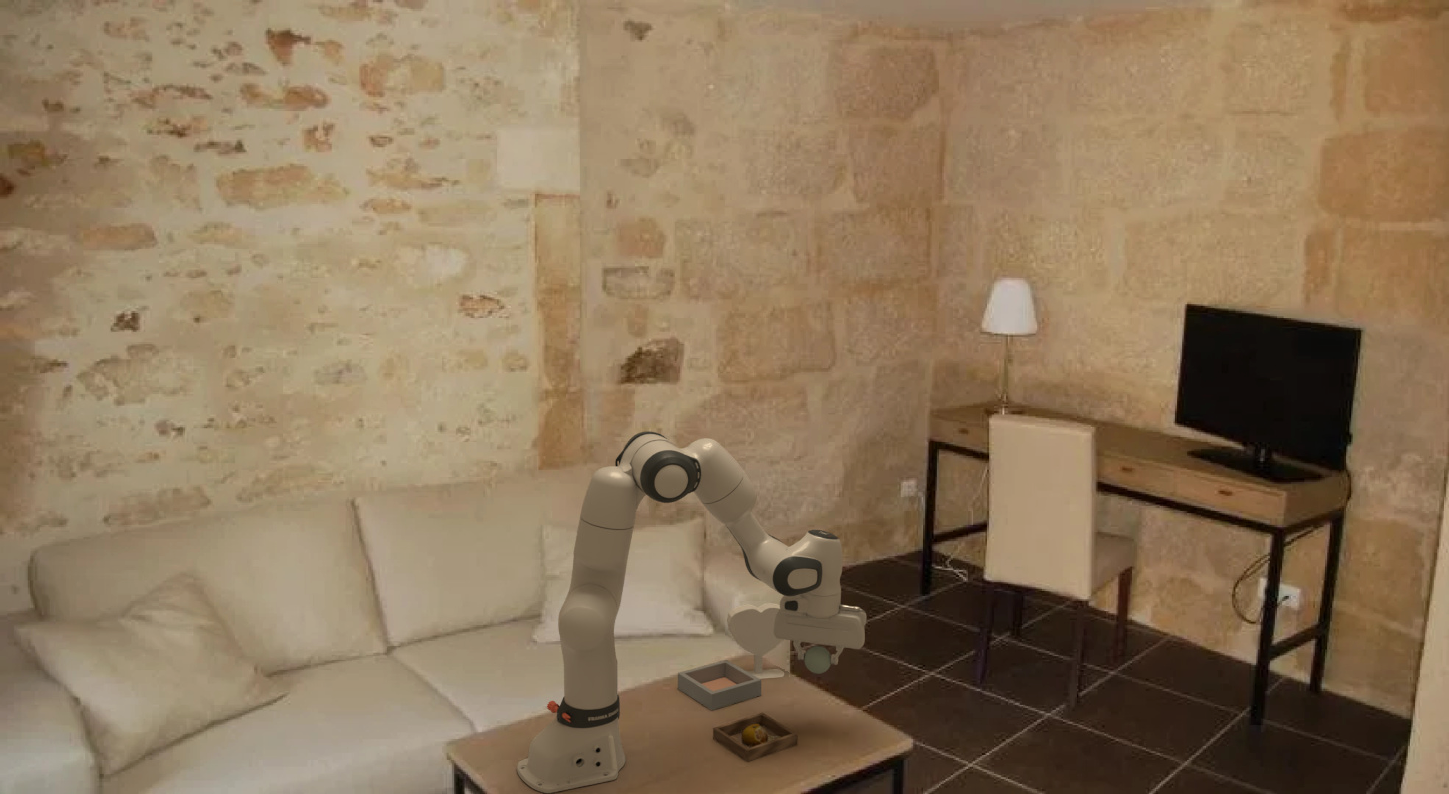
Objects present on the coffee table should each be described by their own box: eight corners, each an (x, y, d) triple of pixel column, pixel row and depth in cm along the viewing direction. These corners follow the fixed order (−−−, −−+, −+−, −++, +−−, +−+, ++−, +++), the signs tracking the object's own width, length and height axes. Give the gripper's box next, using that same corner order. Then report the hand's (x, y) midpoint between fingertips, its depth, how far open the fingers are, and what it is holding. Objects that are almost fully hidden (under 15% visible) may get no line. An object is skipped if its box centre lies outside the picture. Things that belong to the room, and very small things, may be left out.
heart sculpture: (785, 668, 285) (787, 600, 282) (790, 676, 280) (792, 607, 277) (725, 672, 281) (726, 604, 278) (729, 681, 277) (730, 611, 274)
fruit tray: (747, 761, 237) (747, 750, 236) (713, 738, 247) (713, 728, 246) (797, 744, 244) (797, 734, 244) (762, 722, 255) (762, 712, 254)
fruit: (772, 755, 240) (773, 739, 240) (735, 748, 243) (736, 732, 242) (783, 738, 248) (783, 722, 247) (747, 732, 251) (747, 716, 250)
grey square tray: (711, 710, 260) (711, 694, 260) (677, 688, 272) (677, 673, 271) (761, 695, 269) (761, 680, 268) (726, 675, 280) (726, 659, 279)
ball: (812, 679, 247) (813, 654, 246) (798, 669, 252) (799, 644, 251) (835, 675, 250) (837, 649, 249) (821, 665, 255) (822, 640, 254)
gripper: (869, 603, 248) (866, 662, 251) (779, 592, 254) (777, 650, 256) (865, 612, 243) (861, 673, 245) (772, 601, 248) (770, 660, 250)
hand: (817, 661), depth 251 cm, fingers closed on ball, 6 cm apart
